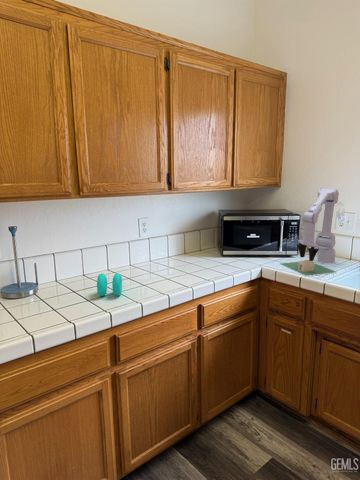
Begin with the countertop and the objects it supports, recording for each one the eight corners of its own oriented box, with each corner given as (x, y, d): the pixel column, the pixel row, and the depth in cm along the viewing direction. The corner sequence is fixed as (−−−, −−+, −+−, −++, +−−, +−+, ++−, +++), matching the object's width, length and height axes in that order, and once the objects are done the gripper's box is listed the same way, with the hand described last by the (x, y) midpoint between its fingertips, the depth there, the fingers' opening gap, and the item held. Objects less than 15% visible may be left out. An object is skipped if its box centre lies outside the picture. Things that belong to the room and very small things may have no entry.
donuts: (100, 291, 155) (99, 270, 153) (122, 290, 156) (121, 270, 153) (97, 299, 145) (95, 277, 143) (120, 299, 146) (119, 277, 144)
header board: (307, 261, 204) (308, 256, 203) (337, 273, 182) (337, 267, 181) (279, 264, 198) (279, 259, 198) (305, 276, 176) (306, 271, 175)
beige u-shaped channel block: (308, 268, 188) (309, 259, 187) (313, 270, 184) (314, 261, 183) (298, 269, 186) (298, 260, 185) (302, 271, 182) (303, 262, 181)
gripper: (293, 232, 186) (292, 256, 189) (311, 237, 173) (309, 263, 176) (304, 231, 188) (303, 255, 191) (322, 236, 175) (320, 261, 178)
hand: (306, 258), depth 184 cm, fingers open, 7 cm apart
